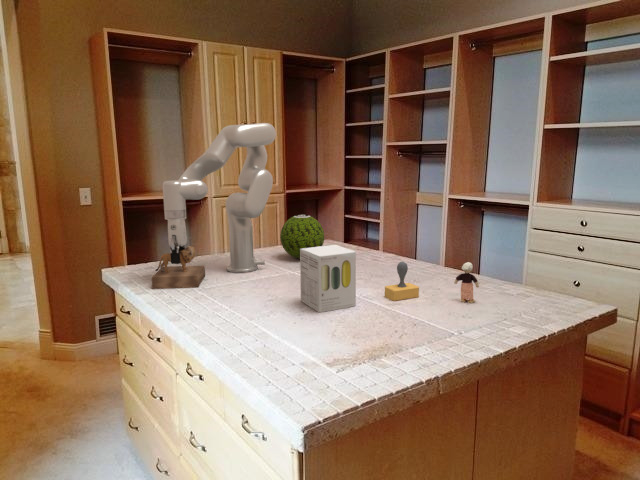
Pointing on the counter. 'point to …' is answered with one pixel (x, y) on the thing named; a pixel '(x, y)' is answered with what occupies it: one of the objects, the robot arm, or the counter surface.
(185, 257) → the lion figurine
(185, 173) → the robot arm
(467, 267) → the grandmother figurine
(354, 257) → the supplement box
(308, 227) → the decorative ball
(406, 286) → the rubber stamp
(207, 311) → the counter surface
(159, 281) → the walnut block
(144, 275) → the counter surface
